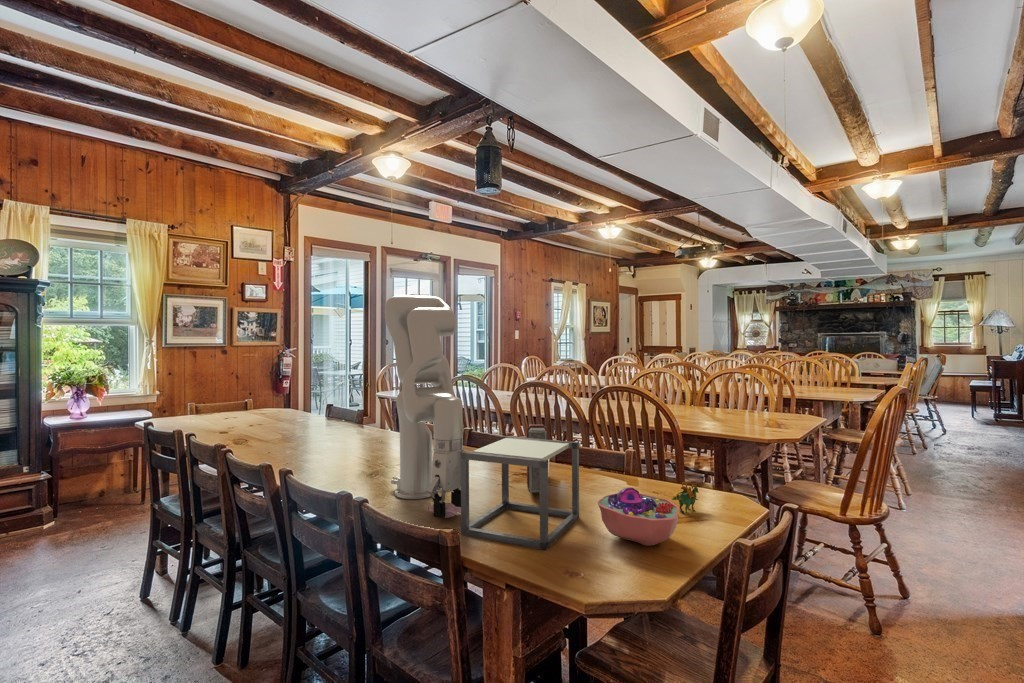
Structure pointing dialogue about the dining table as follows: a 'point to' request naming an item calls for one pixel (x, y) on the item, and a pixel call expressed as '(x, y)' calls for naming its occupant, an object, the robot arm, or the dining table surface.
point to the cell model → (639, 516)
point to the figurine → (687, 497)
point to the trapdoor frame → (543, 509)
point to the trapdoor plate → (524, 448)
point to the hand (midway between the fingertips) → (448, 511)
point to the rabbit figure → (447, 509)
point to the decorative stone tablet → (534, 472)
